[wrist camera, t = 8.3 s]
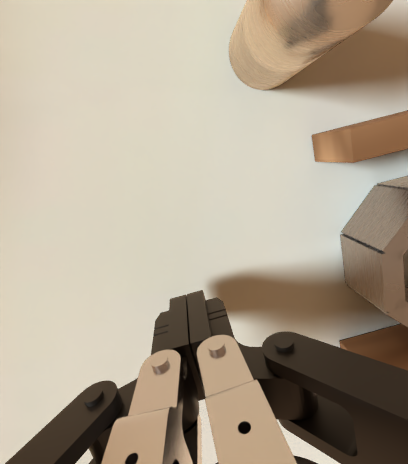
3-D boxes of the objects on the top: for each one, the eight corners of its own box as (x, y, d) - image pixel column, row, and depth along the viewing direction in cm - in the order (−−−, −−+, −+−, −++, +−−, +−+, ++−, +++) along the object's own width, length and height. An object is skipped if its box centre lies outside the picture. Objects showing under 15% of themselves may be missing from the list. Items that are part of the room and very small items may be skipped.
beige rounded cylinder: (221, 18, 12) (267, -122, 6) (293, 1, 12) (409, -154, 6) (237, 97, 12) (290, 44, 7) (304, 80, 12) (415, 13, 7)
